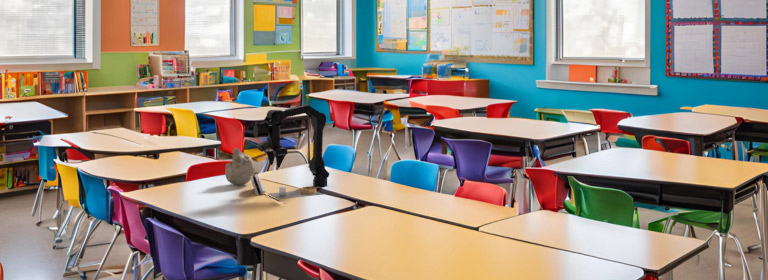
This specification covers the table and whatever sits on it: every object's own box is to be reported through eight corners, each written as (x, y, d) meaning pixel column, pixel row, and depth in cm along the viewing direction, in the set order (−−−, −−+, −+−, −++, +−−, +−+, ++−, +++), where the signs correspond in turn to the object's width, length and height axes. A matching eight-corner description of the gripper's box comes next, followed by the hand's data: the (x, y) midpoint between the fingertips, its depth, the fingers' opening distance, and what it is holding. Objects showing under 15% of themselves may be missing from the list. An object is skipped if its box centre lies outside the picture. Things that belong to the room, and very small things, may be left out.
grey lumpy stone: (222, 184, 379) (221, 147, 377) (248, 181, 388) (248, 145, 385) (232, 188, 369) (232, 150, 366) (258, 185, 378) (258, 148, 375)
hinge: (266, 194, 355) (259, 176, 353) (257, 198, 355) (250, 179, 353) (265, 188, 371) (258, 170, 370) (256, 191, 371) (249, 173, 369)
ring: (311, 190, 361) (312, 186, 361) (318, 193, 355) (318, 188, 355) (299, 192, 357) (299, 187, 357) (305, 194, 352) (305, 189, 351)
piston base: (311, 191, 365) (311, 181, 364) (324, 196, 353) (324, 186, 352) (267, 196, 352) (267, 185, 352) (278, 201, 341) (278, 190, 340)
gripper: (252, 134, 359) (252, 164, 361) (266, 138, 343) (266, 170, 345) (273, 132, 365) (273, 163, 367) (287, 137, 349) (288, 168, 351)
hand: (274, 166), depth 357 cm, fingers open, 9 cm apart
